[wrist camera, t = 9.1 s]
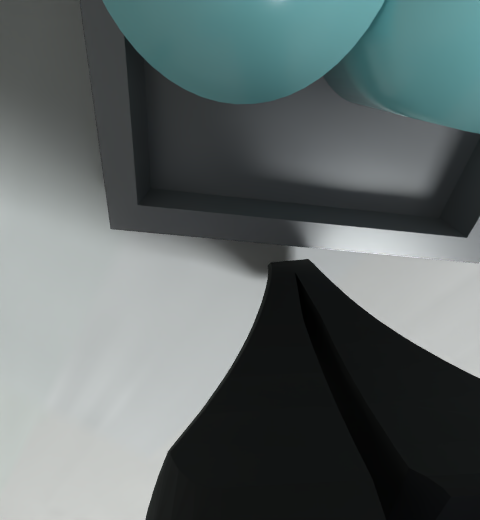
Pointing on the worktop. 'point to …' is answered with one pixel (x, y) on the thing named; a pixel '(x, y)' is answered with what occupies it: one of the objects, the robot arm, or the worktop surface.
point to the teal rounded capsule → (243, 42)
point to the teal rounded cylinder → (417, 63)
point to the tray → (276, 164)
